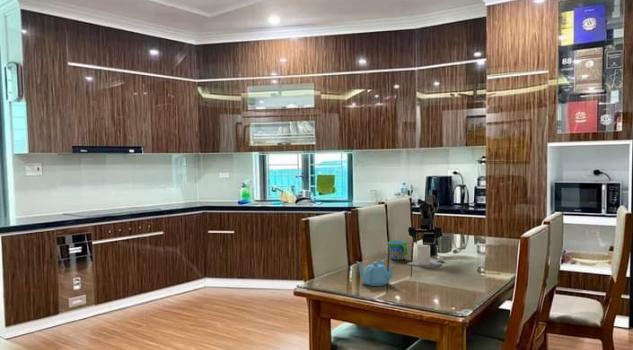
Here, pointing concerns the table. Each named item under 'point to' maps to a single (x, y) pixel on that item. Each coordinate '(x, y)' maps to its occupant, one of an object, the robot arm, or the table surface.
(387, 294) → the table surface
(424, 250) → the cover
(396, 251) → the snack cup
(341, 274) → the table surface
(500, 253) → the table surface
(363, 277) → the teapot
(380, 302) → the table surface
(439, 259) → the silver metallic cylinder
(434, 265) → the mat
